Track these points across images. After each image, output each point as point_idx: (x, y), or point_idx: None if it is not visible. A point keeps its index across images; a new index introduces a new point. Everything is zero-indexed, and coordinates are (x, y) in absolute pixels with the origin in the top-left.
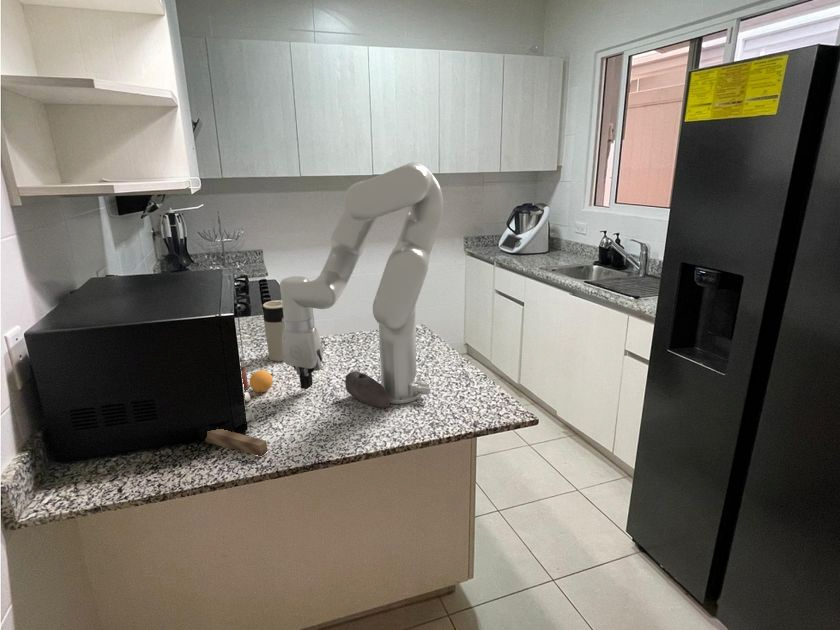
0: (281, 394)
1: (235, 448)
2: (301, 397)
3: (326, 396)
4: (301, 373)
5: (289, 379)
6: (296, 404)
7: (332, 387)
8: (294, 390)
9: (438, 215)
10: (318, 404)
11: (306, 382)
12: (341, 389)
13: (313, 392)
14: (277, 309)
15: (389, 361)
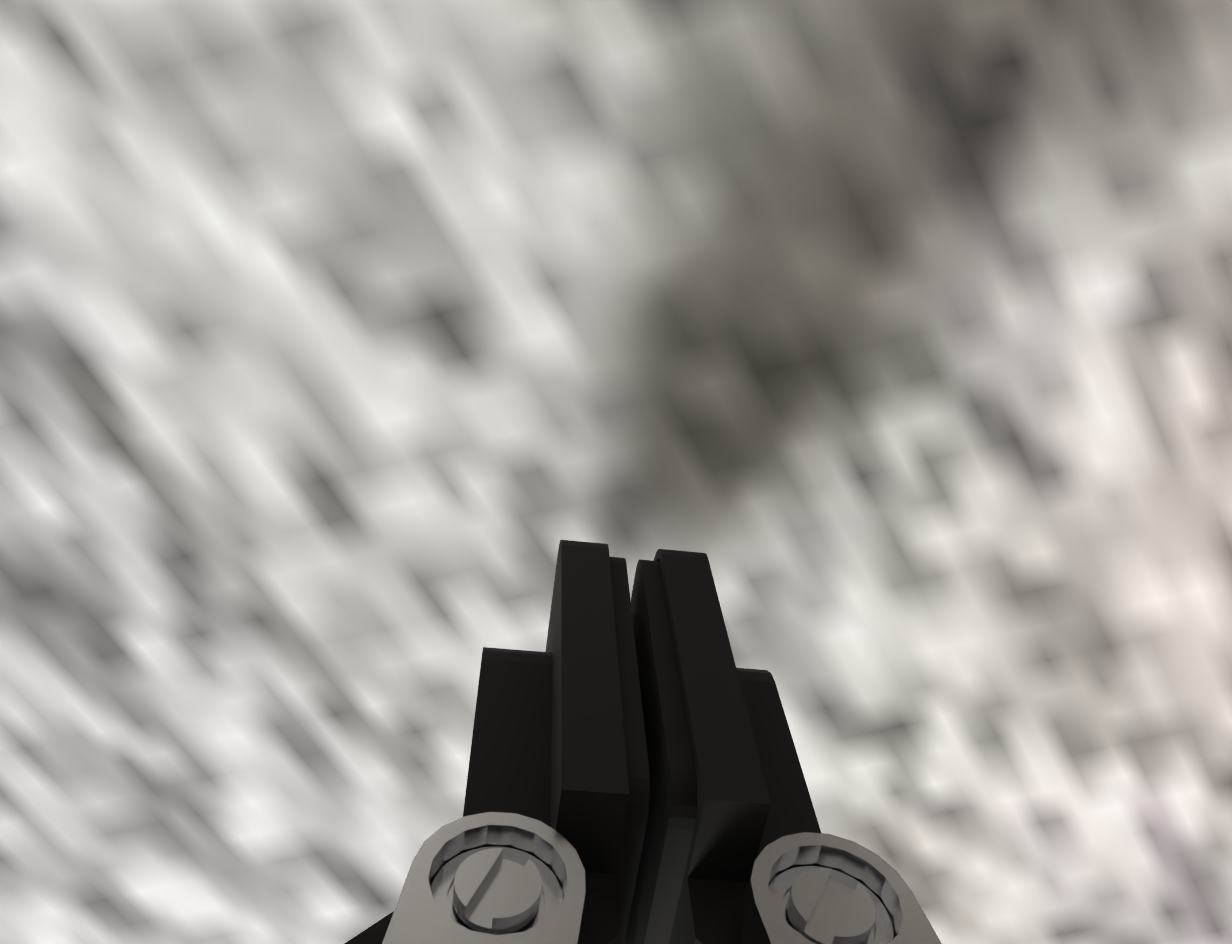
0: (1137, 362)
1: None
2: (623, 355)
3: (114, 526)
4: (742, 913)
5: (1177, 880)
6: (564, 6)
7: (239, 834)
8: (917, 576)
9: None
10: (33, 154)
11: (555, 685)
12: (25, 815)
13: (484, 600)
14: None
15: None
